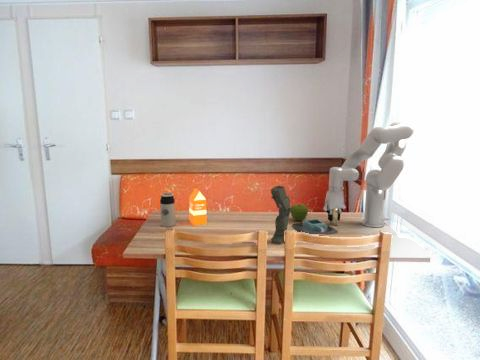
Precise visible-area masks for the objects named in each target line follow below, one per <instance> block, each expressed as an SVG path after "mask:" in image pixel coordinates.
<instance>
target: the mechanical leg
mask: <svg viewBox="0 0 480 360" xmlns="http://www.w3.org/2000/svg"><path fill="white" fill-rule="evenodd" d="M270 192H271V198H272V199H273V201H274V203H275V204H276V207H277V209H278V215H277V216H276V218H275V220H274V222H275V231H274V234H273V235H272V237H271V239H270V243H272V244H276V245H281V244H284V231H285V230H287V231H288V226H289V225H288V224H289V221H290V214H291V213H290V209H291V199H290V196H289V195H287V192H286V188H285V187H284V186H283V185H276V186H274V187H273V188H271V189H270Z"/></svg>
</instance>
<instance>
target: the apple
mask: <svg viewBox="0 0 480 360" xmlns="http://www.w3.org/2000/svg"><path fill="white" fill-rule="evenodd" d="M290 208H291V209H290V214H291V217H292V219H294V220H295V221H296V222H303V220H306V218H307V216H308V213H309V207H308V206H306V205H305V204H297V203H296V204H293V205H290Z"/></svg>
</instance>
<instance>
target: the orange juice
mask: <svg viewBox="0 0 480 360" xmlns="http://www.w3.org/2000/svg"><path fill="white" fill-rule="evenodd" d="M188 200H189V201H188V204H189V205H188V206H189V207H188V208H189V213H188V214H189V222H190V223H191V224H192V226H194V225H196V226H200V225H201V224H203V225H207V223H208V222H207V198H206V197H205V196H204V195H203V194H202V192H201V190H199V189H198V188H196V187H195V188H194V189H193V191H192V193H191V194H190V196H189V197H188Z"/></svg>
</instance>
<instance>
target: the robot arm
mask: <svg viewBox="0 0 480 360" xmlns="http://www.w3.org/2000/svg"><path fill="white" fill-rule="evenodd" d="M414 130H415V129H414V127H413V125H412V124H411V123H409V122H402V121H394V122H392V123H391V124H389V126H387V127H383V126H376V127H374V128H372V129H371V130H370V132H369V133H368V134H367V136H366V137H365V139H364V140H363V141H362V143H361V144H360V145H359V147H358V148H357V149H355V151H354V152H353V153H352V154H350V155H349V156H348V157H347V158H346V159H345V161H344V162H343V164H342V165H341V167H340V166H339V167H338V166H333V167H330V168H329V179H328V190H327V191H326V196H325V198H324V199H325V201H324V206H323V208H322V209H323V211H324V212H326V213H327V220H328V221H329V222H330V221H332V210H333V209H339V210H338V222H339V221H340V220H341V214H342V212H343V211H344V210H345V209H346V208H347V207H346V206H347V205H345V194H344V191H343V190H344V189H345V187H344V185H343V184H344V181H345V182H346V181H347V182H355V181H358V179H359V177H360V173H359V171H358V170H357V169H356V168H357V167H358V165H360V163H363V161H366V160H368V159H371V158H372V157H373V156H374V154H375V153H376V152H377V150H378V149H379V148H380V146H381V145H382V144H383V145H386V144H388V146H387V147H386V149H385V150H384V152H383V153H382V155H381V156H380V157H379V159H378V162H377V163H378V166H379V168H380V169H381V170H379V169H371V170H370V171H368V172H367V174H366V175H365V189H366V190H365V192H366V193H365V202H364V214H363V215H364V217H363V218H364V219H362V220H360V223H361V225H363V226H365V227H369V228H382V227H384V226H385V221H389V219H390V218H389V217H388V216H383V210H384V209H383V208H384V197H385V191H386V190H388V189H390V188H391V187H392V185H394V183H395V181H396V180H397V179H398V177H399V176H400V174H401V172H402V171H403V169H404V166H405V163H404V160H403V158H402V155H403V154H404V152H405V149H406V147H407V139H409V138H410V137H412V135H413V134H414V132H415V131H414Z"/></svg>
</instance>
